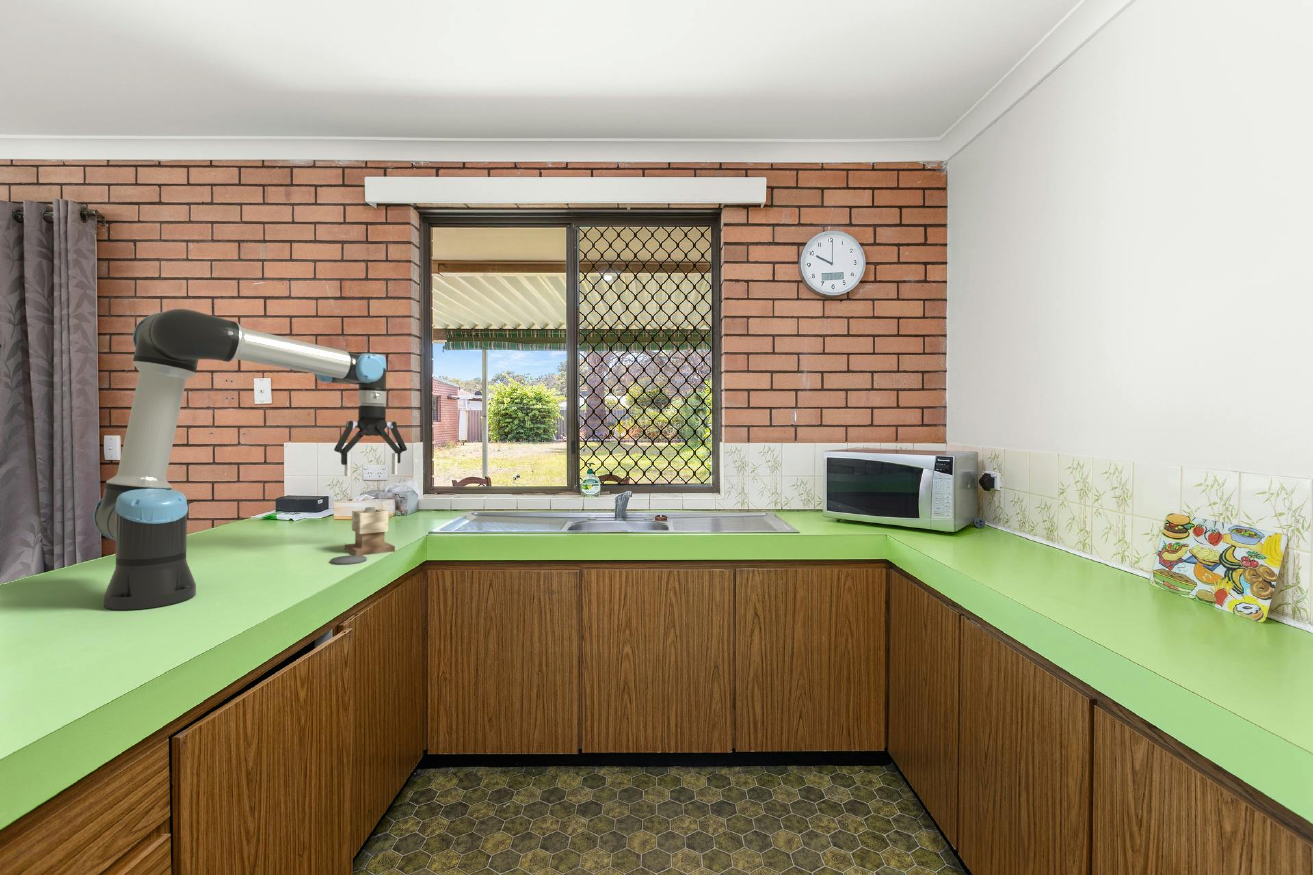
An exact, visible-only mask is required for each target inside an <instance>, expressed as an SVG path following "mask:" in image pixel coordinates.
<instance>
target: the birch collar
mask: <svg viewBox="0 0 1313 875" xmlns="http://www.w3.org/2000/svg"><path fill="white" fill-rule="evenodd" d="M351 531H352V532H357V533H359V534H366V533H376V532H389V511H388V510H385V509H383V508H375V512H368V513H365V509H357V510H356V509H355V510H351Z"/></svg>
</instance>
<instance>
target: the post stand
mask: <svg viewBox="0 0 1313 875" xmlns="http://www.w3.org/2000/svg"><path fill="white" fill-rule="evenodd" d="M375 509H376V507H374V506H373V507H372V506H370V507H365V509H364V510H365V513H368V512H375ZM354 532H355V531H354ZM354 534H355V535H354V537H355V538H354V543H348V544H347V543H346V544H344V550H345V551H347V552H348V553H351V555H360V556H366V555H372V554H381V553H382V554H383V553H392V552H395V550H396V546H395V545H393V544H392V543H391V544H390V543H388V542H386V541H385V532H376V533H366V534H359V533H357V532H355V533H354Z"/></svg>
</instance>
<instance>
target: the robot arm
mask: <svg viewBox="0 0 1313 875" xmlns="http://www.w3.org/2000/svg"><path fill="white" fill-rule="evenodd" d="M132 334H133V335H132V341H133V346H134V348H135V350H134V355H133V359H132V364H133V365H134V367H135V368H136V369H137V370H138V378H137V381H136V382H137V383H136V387H135V391H134V396H133V399H132V405H131V410H130V414H129V419H128V423H127V429H126V432H125V436H124V437H125V438H124V442H123V447H122V451H121V455H120V460H119V464H118V468H117V473H116V474H115V476H113V477H111V478H109V479H107V480H106V482H105V485H104V486H105V487H104V490H103V494H102V495H103V496H102V498H101V499H99V501H98V503H97V504H96V505H95V507H94V510H93V515H92V516H93V522H94V525H95V527H96V529H97V530H98V531H99V532H100V534H102V535H103V536H104V537H105V538H107V539H109V541H114V542H115V569H114V571H113V573H112V576H111V577H110V581H109V584H108V586H107V588H106V590H105V593H104V596H103V606H104V608H106V609H110V610H119V611H120V610H123V611H125V610H126V611H128V610H144V609H151V608H152V609H153V608H158V607H165V606H168V605H174V604H177V603H182V602H184V601H187V600H190V599H192V598H193V597H195V596H196V595H197V585H196V582H195V579H194V576H193V574H192V571H191V570H190V566H189V564H188V561H187V541H188V540H187V539H188V537H187V533H188V532H187V528H188V526H187V525H188V511H189V507H188V501H187V497H186V495H185V494H184V493H183V492H181V491H178V490H174V489H173V485H171V484H170V483H169V481H167V472H168V468H169V464H170V459H171V454H172V449H173V444H174V441H175V440H174V439H175V434H176V431H177V426H178V421H179V416H180V410H181V406H182V402H183V398H184V392H185V387H186V382H187V380H188V379H190V378H192V377H194V376H195V375H196V374H197V369H198V363H199V360H212V361H215V360H216V361H222V362H226V363H231V362H232V361H234V360H239V361H243V362H244V361H245V362H251V363H255V364H260V365H261V364H262V365H266V366H272V367H277V368H282V369H288V370H292V371H299V372H304V373H308V374H309V373H310V374H314V375H315V377H316V378H317V380H318V382H321V383H329V384H343V385H356V386H357V385H358V404H360V405H358V413H357V414H358V415H357V416H358V419H357V421H353V420H347V421H346V425H345V429H344V430H343V432H342V434H341V435H340V437H339V439H338V440H337V441H338V442H337V443H336V445H335V447H334V449H333V450H334V452H337V453H340V455H341V456H340V463H341V465H343V466H344V476H345V477H351V454H350V453H349V452H350V451H351V450H352V449H353V448H354V446H356V444H357V443H358V442H359V441H360V440H361V439H362V438H363V437H364V436H367V437H370V436H372V437H373V436H374V437H375V436H376V437H378V436H380V437H381V438H382V439H383V440H384V441H385V443H386V445H388V446H389V447H390V448H391V449H392V450H393V452H392V453H391V474H392V475H398V464H401V455H402V453H403V452H407V450H408V448H407V445H406V443H405V441H404V439H403V438H402V436H401V434H400V431H399V429H398V425H397V423H398V422H396V421H390V422H389V421H387V420H386V418H387V416H386V415H387V414H386V413H387V412H386V410H387V408H386V406H385V405H386V404H387V403H386V402H387V398H386V397H387V395H386V394H387V391H386V388H387V359H386V357H385V356H384V355H382V354H377V353H360V354H358V353H354V352H351V351H350V352H349V351H346V350H342V349H337V348H333V347H328V346H323V345H319V344H315V343H311V342H305V341H302V340H297V339H292V338H289V337H285V336H280V335H276V334H272V333H266V332H262V331H258V330H254V329H249V328H244V327H242V326H241V325H240V323H239V322H237V321H235V320H230V319H225V318H222V317H218V316H214V315H212V314H207V313H204V312H200V311H196V310H192V309H188V308H187V309H185V308H173V309H169V310H165V311H162V312H161V311H160V312H157V313H155V312H154V313H152V314H150V315H148V316H146V317H144V318H142V319H141V321H140V322H138V323H137V325H136V326H135V328H134V330H133V333H132ZM356 427H357V428H358V431H357V432H356V433H355V435H354V436H353V437H352V438H351V439H350V440H349V441H348V443H347V444H346V442H347V440H348V439H349V437H350V435H351V433H352V432H353V429H355V428H356ZM387 427H388V429H390V431H391V433H392V435H393V438H394V439H392V438H391V437H390V436H389V435H388V433H387V431H385V429H386V428H387ZM394 440H395V441H396V443H395V442H394ZM345 444H346V445H345Z"/></svg>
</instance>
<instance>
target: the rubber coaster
mask: <svg viewBox="0 0 1313 875" xmlns="http://www.w3.org/2000/svg"><path fill="white" fill-rule="evenodd" d="M367 559H368V558H367V556H366V555H354V554H351V555H341V556H336V557H333V558H331V559H330V564H332V565H343V566H345V565H347V566H348V565H355V564H361V563H363V562H366V561H367Z"/></svg>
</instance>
